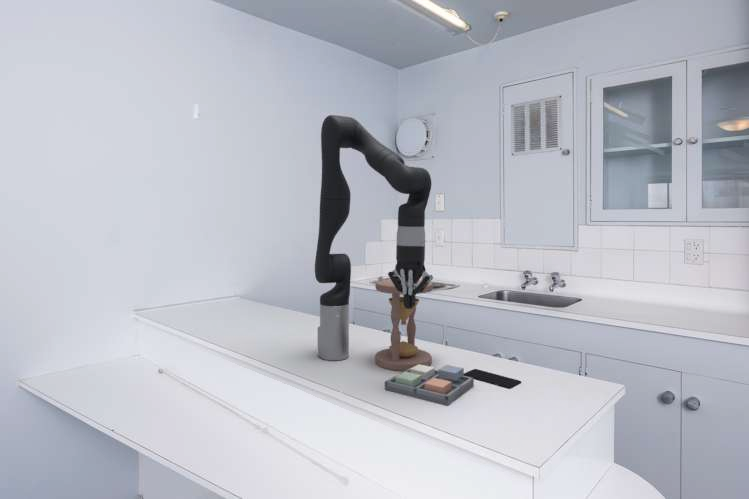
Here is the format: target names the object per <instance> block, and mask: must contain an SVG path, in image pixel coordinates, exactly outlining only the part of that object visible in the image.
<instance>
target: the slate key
mask: <svg viewBox="0 0 749 499" xmlns="http://www.w3.org/2000/svg"><path fill="white" fill-rule="evenodd" d="M437 370H438V377H440V378H445V379H450V380H454V381H456V380H458V379H459V378H461V377H462V376H464V373H465V372H464V370H465V369H464V367H461V366H455V365H450V364H445V365H444V366H442V367H440V368H439V369H437Z"/></svg>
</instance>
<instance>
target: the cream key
mask: <svg viewBox="0 0 749 499" xmlns="http://www.w3.org/2000/svg"><path fill="white" fill-rule="evenodd" d="M435 370H436V368H435V367H433V366H431V365H430V366H425V365H420V364H418V365H416V366H415V367H413V368H411V369H410V373H414V374H419V375H422V377H423V378H427V379H428V378H430V377H431V376H433V375H435Z"/></svg>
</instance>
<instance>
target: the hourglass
mask: <svg viewBox="0 0 749 499" xmlns="http://www.w3.org/2000/svg"><path fill="white" fill-rule="evenodd" d="M421 281H422V279H419V282H418V285H419V284H420V282H421ZM433 289H434V284H433V282H432V281H430V283H429V284H428V285H427V286H426V288H425V289H424V290H423V291H422V292H421V293H418V294H419V295H420V294H426V293H430V292H431V291H433ZM375 290H376V291H378V292H380V293H386V294H391V297H390V298H388V302H389V304H390V306H391V311H390V320H391V323H392V329H391V333H390V344H391V345H390V346H389V347H388V348H383V349H382V350H379V351H377V353H376V354H375V355H374V360H375V364H376V365H378V366H379V367H381V368H383V369H385V370H386V369H387V370H392V371H398V372H399V371H401V372H404V371H406V370H408V369H409V368H411V367H413V366H416V365H418V364H420V365H425V366H430V367H431V365H432V362H433V357H432V355H431V353H430V352H428V351H426V350H422V349H419V347H418V346H416V343H415V342H416V340H415V339H416V338H415V336H416V331H417V328H416V326H417V325H416V322H415V319H414V318H415V314H416V310H417V305H418V304H419V302H420V299H419V298H417V297H415V306H414V307H413V308H412V309H406V308H405V306H404V304H403V301H404V296H401V295H404V294H403V293H402V292H400V291H398V290H397V289H396V287H395V285H394V284H393V282H392V281H391V279H390V278H389V279H382V280H378V281H376V282H375ZM418 294H417V295H418ZM400 325H401V326H406V335H407V341H405V340H402V341H401V333H400V329H399V326H400Z"/></svg>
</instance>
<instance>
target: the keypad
mask: <svg viewBox="0 0 749 499" xmlns="http://www.w3.org/2000/svg"><path fill="white" fill-rule="evenodd" d="M413 367H415V366H413ZM413 367H411V368H413ZM411 368H409V369H408V370H406V371H401V372H400V373H398V374H396V375H395V376H392V377H391V378H388V379H387V380H385V381H384V390H385V391H389V392H392V393H397V394H400V395H405V396H409V397H413V398H415V399H419V400H425V401H429V402H432V403H434V404H435V403H437V404H441V405H442V406H443V405H445V406H446V407H447V406H449V405H451V404H452V403H453V402H454V401H456V400H457V399H459V398H460V397H461V396H462V395H463V394H465V393H466V392H467V391H469V390H470V389H472V387H474V385H475V384H474V383H475V382H474V380H475V379H474V378H472V377H467V376H462V377H461V378H459V379H458V380H456V381H454V380H450V379H445V378H440V377H438V370H439V369H435V375H433V376H431V377H430V378H428V379H427V378H423V377H422V379H421V383H420V384H418V385H417V386H415V387H411V386H407V385H403V384H398V383H395V377H396V376H398V375H400V374H401V373H403V372H410V369H411ZM433 378H437V379H442V380H447V381H451V390H450V391H448V392H447V393H445V394H440V393H436V392H432V391H428V390H425V383H426V382H428V381H429V380H431V379H433Z"/></svg>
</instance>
